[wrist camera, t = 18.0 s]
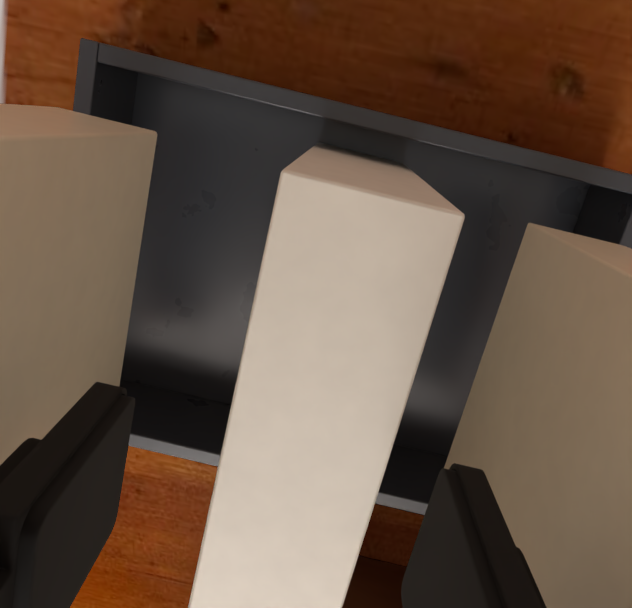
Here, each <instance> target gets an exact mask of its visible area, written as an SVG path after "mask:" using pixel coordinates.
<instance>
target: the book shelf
mask: <svg viewBox="0 0 632 608" xmlns="http://www.w3.org/2000/svg"><path fill="white" fill-rule="evenodd" d="M406 568H407V567H404V566H399V565H395V564H391V563H387V562H382V561H378V560H374V559H370V558H365V557H361V556H358V559H357V562H356V565H355V569H354V572H353V575H352V578H351V581H350V584H349V588H348V591H347V594H346V597H345V600H344V603H343V607H342V608H403V606H402V599H401V588H402V581H403V577H404V574H405V571H406Z"/></svg>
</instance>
